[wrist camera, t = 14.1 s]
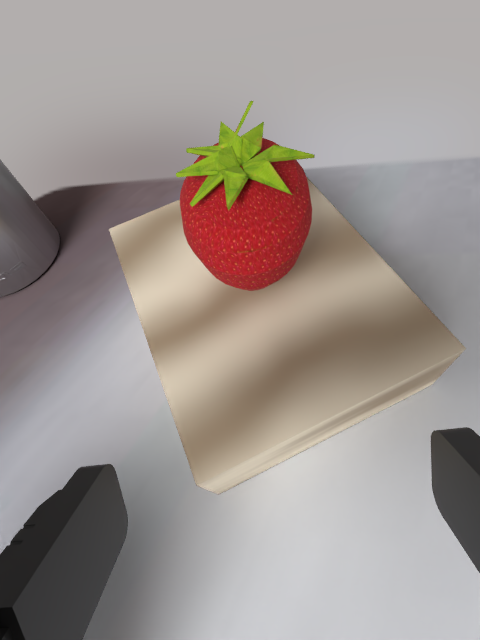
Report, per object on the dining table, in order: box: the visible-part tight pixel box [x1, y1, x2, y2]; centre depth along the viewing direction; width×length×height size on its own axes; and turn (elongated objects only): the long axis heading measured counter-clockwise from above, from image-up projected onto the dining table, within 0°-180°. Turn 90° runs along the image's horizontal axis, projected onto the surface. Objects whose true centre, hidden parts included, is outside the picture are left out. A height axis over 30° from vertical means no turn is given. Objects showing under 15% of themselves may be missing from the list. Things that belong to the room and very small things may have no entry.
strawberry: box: [176, 101, 314, 291], centre depth 16 cm, size 6×8×10 cm
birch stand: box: [109, 178, 466, 495], centre depth 23 cm, size 18×14×5 cm
